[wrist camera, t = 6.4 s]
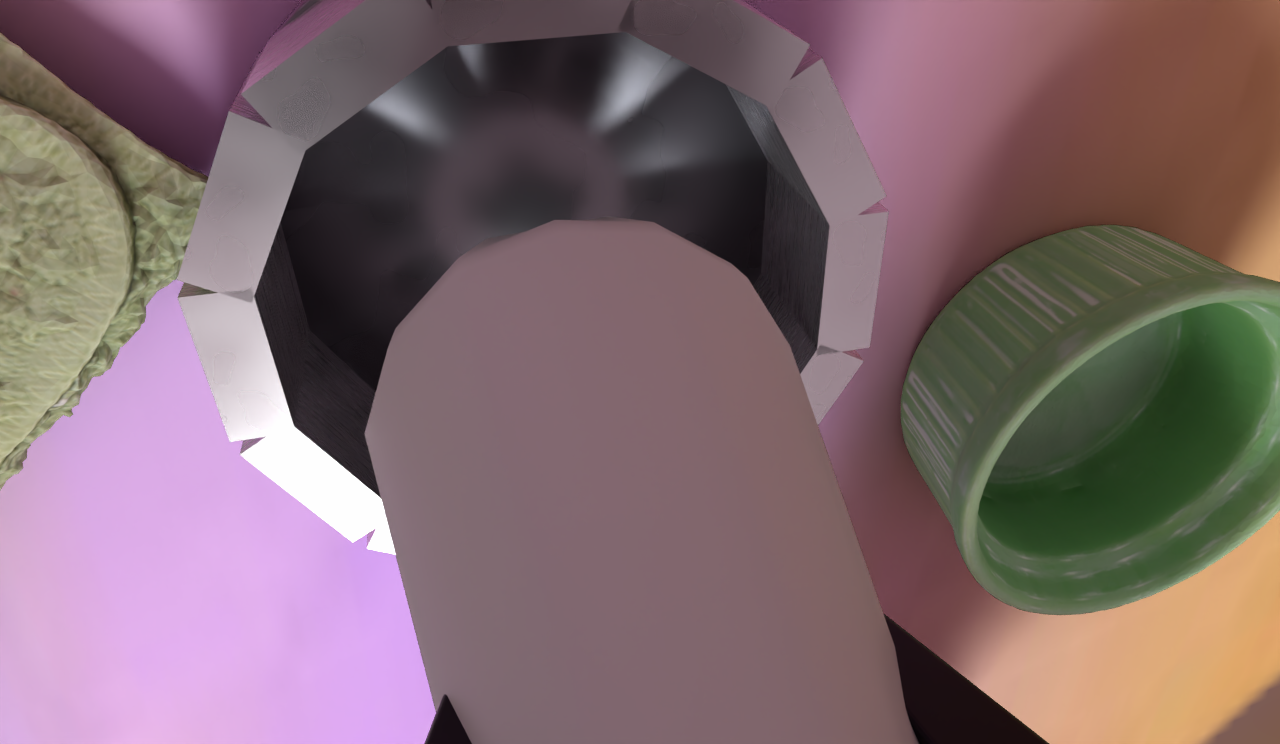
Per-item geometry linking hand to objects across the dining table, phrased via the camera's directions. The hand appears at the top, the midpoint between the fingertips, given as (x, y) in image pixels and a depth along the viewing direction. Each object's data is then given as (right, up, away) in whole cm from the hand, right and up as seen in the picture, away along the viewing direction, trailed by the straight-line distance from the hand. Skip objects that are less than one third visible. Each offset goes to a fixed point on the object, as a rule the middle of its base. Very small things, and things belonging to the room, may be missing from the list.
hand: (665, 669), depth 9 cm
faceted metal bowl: (-2, +6, +9) cm, 11 cm away
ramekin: (+10, +3, +14) cm, 17 cm away
